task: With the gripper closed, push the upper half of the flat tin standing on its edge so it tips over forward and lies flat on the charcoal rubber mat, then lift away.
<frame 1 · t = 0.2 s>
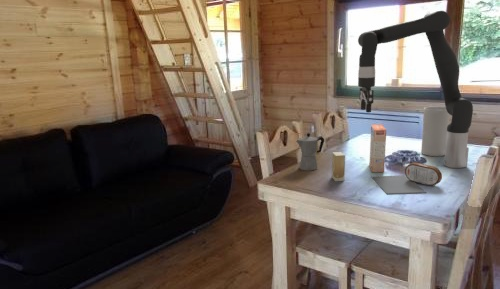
hand: (365, 110, 188), 29 cm above the table, tool pointing down, fingers open, 8 cm apart
skincare box: (338, 179, 182), on the table
coffeepot: (310, 168, 201), on the table
mat: (397, 184, 172), on the table
cylinder vase: (433, 154, 217), on the table
cracker box: (376, 168, 195), on the table
tin: (421, 183, 172), on the table, touching mat
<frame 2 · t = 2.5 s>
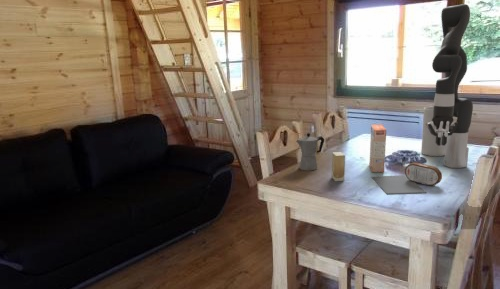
hand: (440, 145, 168), 17 cm above the table, tool pointing down, fingers closed
nothing on the table moved.
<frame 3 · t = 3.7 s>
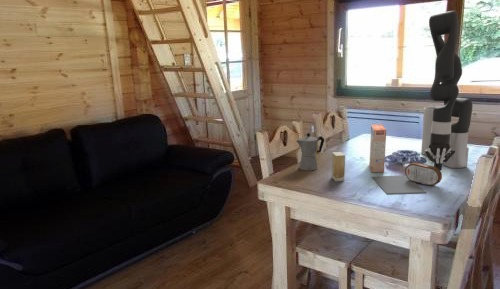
hand: (437, 171, 170), 5 cm above the table, tool pointing down, fingers closed
nothing on the table moved.
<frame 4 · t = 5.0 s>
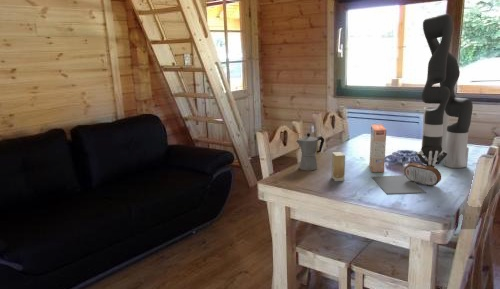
hand: (429, 173, 170), 5 cm above the table, tool pointing down, fingers closed
tin: (421, 183, 172), on the table, touching gripper, mat
everything else where it was.
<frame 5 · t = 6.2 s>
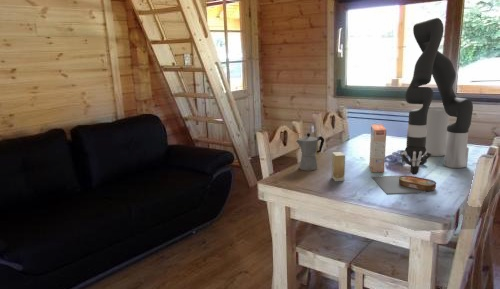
hand: (414, 174, 171), 5 cm above the table, tool pointing down, fingers closed
tin: (421, 181, 171), point 1 cm above the table, touching mat
everything else where it was.
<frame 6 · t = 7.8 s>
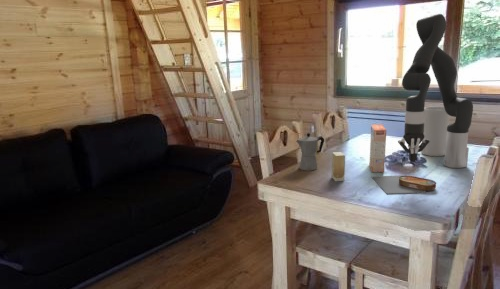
hand: (412, 161, 169), 10 cm above the table, tool pointing down, fingers closed
nothing on the table moved.
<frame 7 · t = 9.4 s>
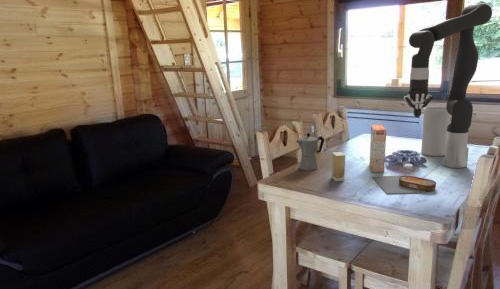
hand: (417, 116, 179), 27 cm above the table, tool pointing down, fingers closed
nothing on the table moved.
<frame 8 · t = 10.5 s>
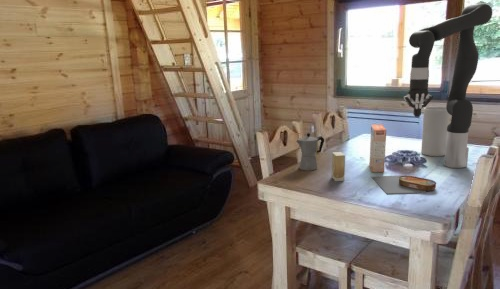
hand: (416, 116, 179), 27 cm above the table, tool pointing down, fingers closed
nothing on the table moved.
at the end: tin tilted 86°; tin inside the target area (6.9 cm from its centre), point 1.4 cm above the table; tin touching mat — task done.
